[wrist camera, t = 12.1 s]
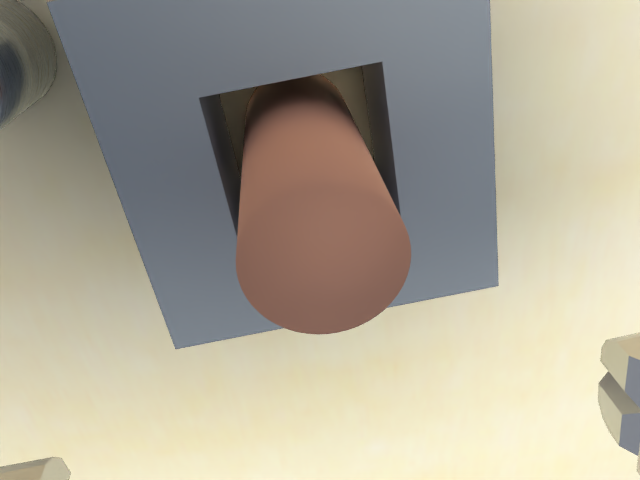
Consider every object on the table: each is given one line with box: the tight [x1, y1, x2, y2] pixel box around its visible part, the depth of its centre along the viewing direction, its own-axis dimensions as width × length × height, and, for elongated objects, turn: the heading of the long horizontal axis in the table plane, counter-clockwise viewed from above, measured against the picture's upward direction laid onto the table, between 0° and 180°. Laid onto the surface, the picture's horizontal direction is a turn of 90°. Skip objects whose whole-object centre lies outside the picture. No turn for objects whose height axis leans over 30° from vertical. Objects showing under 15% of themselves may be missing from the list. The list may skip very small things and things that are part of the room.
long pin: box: [236, 74, 411, 334], centre depth 18 cm, size 4×4×11 cm
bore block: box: [47, 0, 499, 349], centre depth 21 cm, size 12×12×5 cm
